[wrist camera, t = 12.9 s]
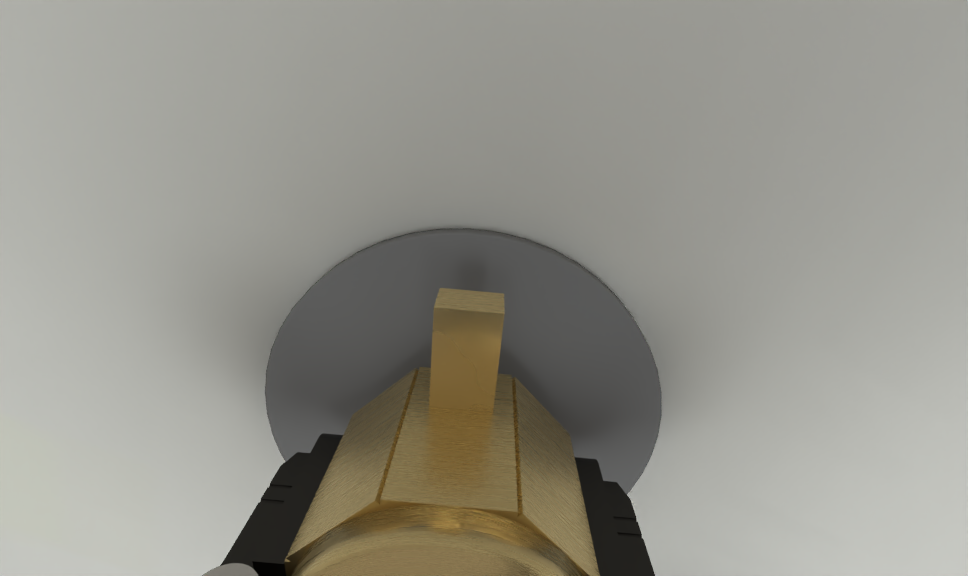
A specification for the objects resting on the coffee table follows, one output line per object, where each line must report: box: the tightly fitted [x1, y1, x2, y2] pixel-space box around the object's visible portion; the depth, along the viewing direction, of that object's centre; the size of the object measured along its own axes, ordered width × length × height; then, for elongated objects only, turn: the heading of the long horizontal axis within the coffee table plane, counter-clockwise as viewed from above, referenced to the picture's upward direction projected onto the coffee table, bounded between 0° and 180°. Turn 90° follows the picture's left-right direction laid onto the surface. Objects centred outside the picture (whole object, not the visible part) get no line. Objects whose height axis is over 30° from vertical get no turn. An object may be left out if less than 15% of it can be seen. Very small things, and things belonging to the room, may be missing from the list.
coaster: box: [265, 229, 661, 495], centre depth 14 cm, size 12×12×1 cm
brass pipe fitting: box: [284, 288, 600, 576], centre depth 10 cm, size 11×6×5 cm, turn 175°
